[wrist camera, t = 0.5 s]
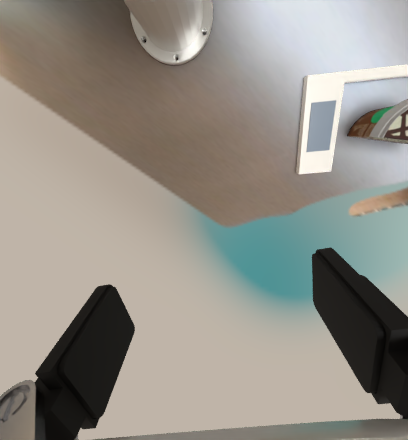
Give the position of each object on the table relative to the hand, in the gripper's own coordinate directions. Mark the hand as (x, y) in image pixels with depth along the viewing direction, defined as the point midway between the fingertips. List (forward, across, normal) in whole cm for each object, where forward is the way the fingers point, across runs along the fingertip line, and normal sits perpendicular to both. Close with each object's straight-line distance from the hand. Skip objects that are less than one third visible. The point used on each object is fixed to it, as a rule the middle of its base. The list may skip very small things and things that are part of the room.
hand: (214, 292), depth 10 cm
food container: (+35, -31, -2) cm, 47 cm away
